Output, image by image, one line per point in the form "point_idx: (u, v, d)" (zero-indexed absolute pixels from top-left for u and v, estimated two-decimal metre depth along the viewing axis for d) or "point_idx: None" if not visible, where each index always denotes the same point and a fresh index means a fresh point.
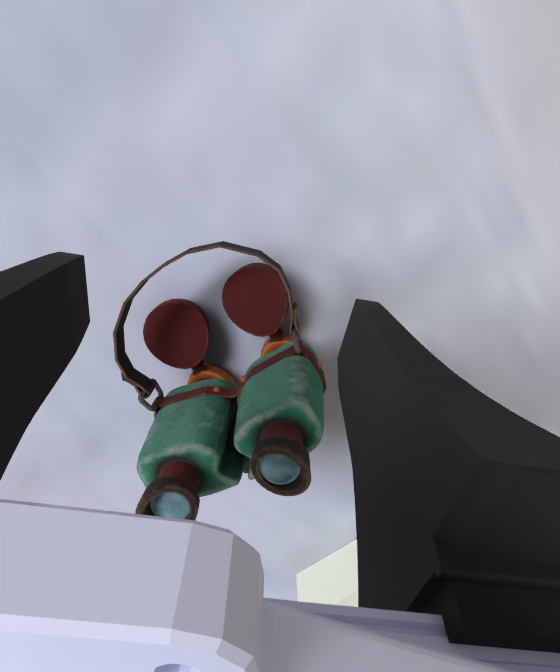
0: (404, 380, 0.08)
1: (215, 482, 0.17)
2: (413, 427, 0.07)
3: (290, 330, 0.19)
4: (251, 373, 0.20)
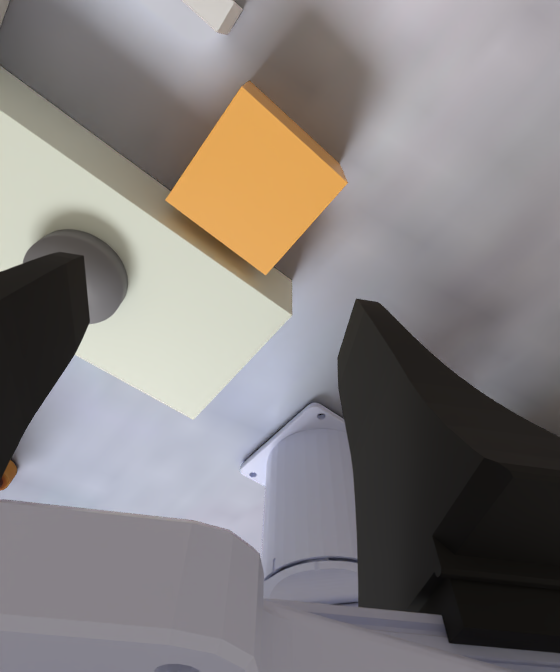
0: (404, 380, 0.08)
1: None
2: (413, 427, 0.07)
3: None
4: None
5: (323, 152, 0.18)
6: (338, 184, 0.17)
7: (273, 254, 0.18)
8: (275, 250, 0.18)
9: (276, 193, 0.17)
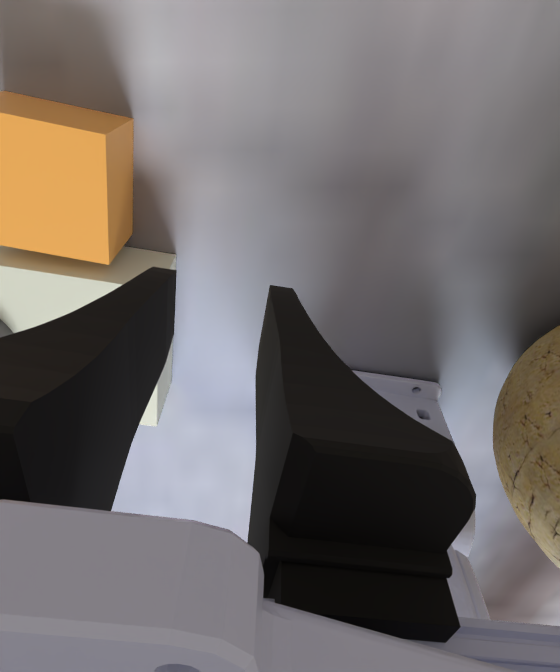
0: (279, 362, 0.08)
1: None
2: (276, 409, 0.07)
3: None
4: None
5: (96, 117, 0.17)
6: (99, 141, 0.15)
7: (99, 241, 0.17)
8: (98, 236, 0.17)
9: (55, 183, 0.16)
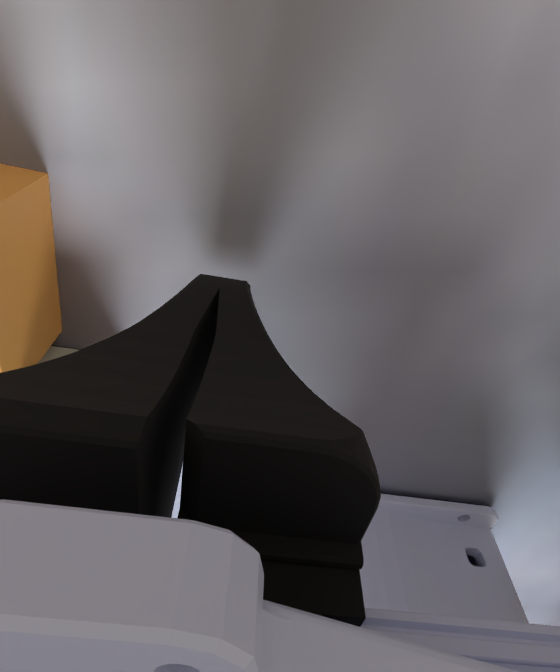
0: (211, 353, 0.08)
1: None
2: None
3: None
4: None
5: None
6: None
7: None
8: None
9: None
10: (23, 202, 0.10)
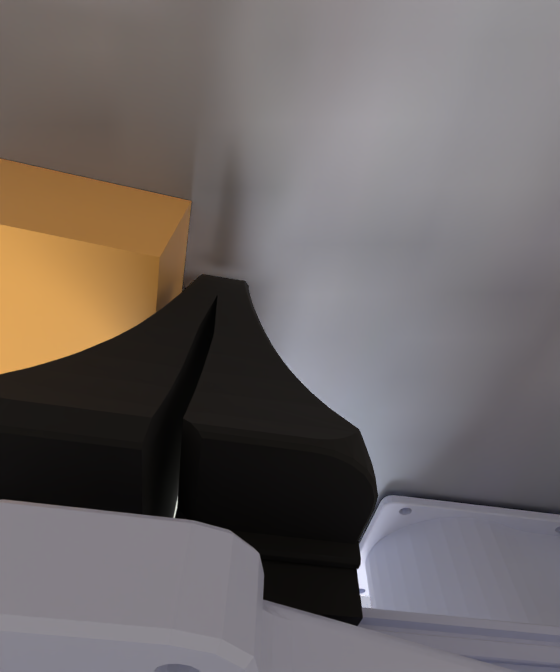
0: (209, 352, 0.08)
1: None
2: None
3: None
4: None
5: (136, 209, 0.10)
6: (147, 266, 0.09)
7: None
8: None
9: (70, 323, 0.10)
10: (178, 234, 0.11)
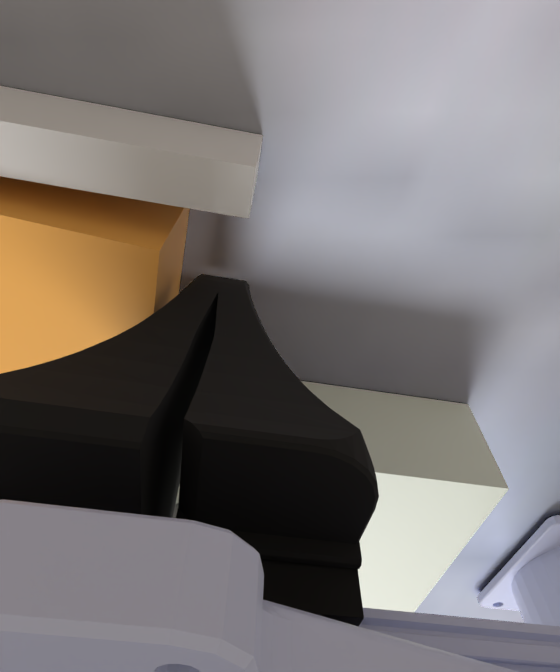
0: (209, 352, 0.08)
1: None
2: None
3: None
4: None
5: (135, 202, 0.10)
6: (147, 260, 0.09)
7: None
8: None
9: (67, 316, 0.10)
10: (178, 228, 0.10)
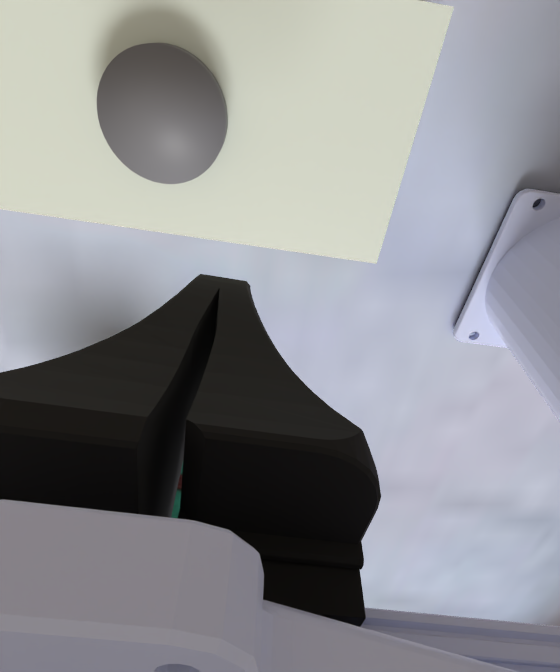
0: (211, 352, 0.08)
1: None
2: None
3: None
4: None
5: None
6: None
7: None
8: None
9: None
10: None
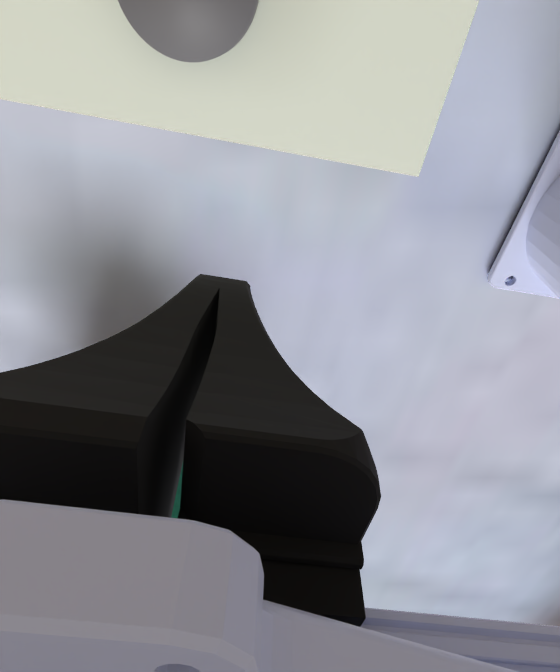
0: (211, 352, 0.08)
1: None
2: None
3: None
4: None
5: None
6: None
7: None
8: None
9: None
10: None
